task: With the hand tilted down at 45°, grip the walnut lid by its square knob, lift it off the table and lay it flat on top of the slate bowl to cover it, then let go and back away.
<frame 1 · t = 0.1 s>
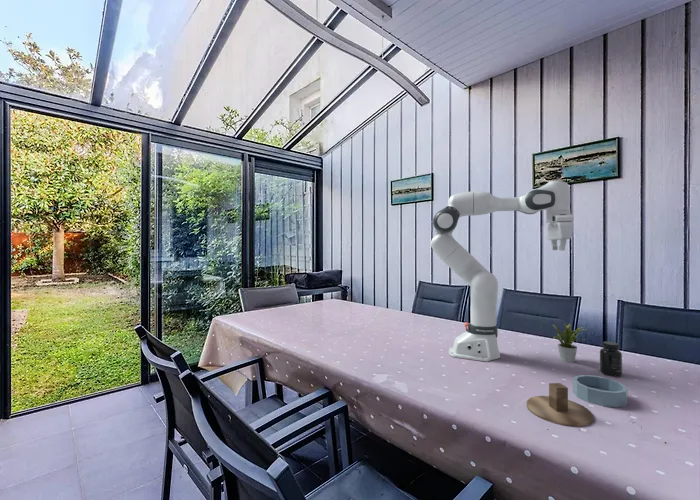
hand: (558, 250, 144), 48 cm above the table, tool pointing down, fingers open, 8 cm apart
walnut lid: (558, 412, 101), on the table
supplement bottle: (610, 374, 129), on the table
house plant: (570, 361, 144), on the table
slate bowl: (599, 396, 110), on the table
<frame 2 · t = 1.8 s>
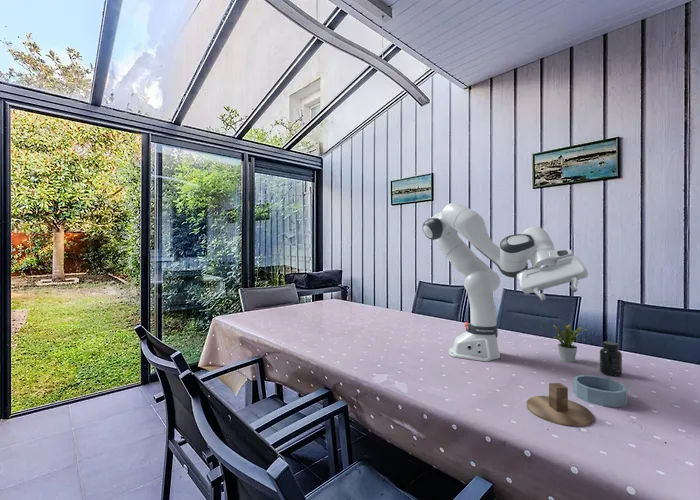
hand: (558, 295, 108), 34 cm above the table, tool tilted 45°, fingers open, 8 cm apart
nothing on the table moved.
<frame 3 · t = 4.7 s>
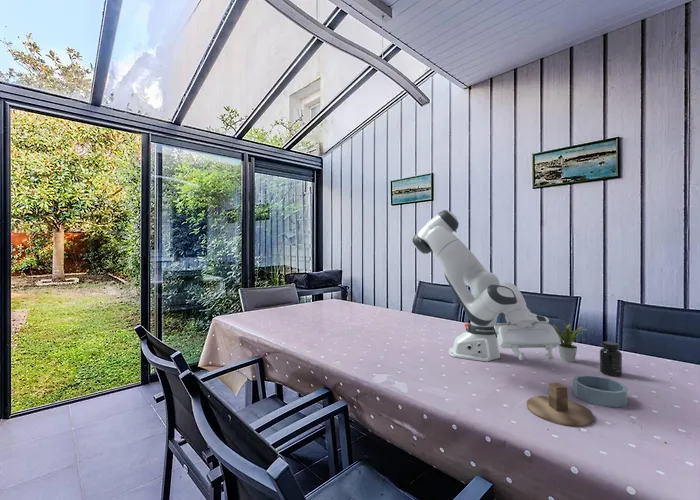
hand: (536, 358, 111), 13 cm above the table, tool tilted 45°, fingers open, 8 cm apart
nothing on the table moved.
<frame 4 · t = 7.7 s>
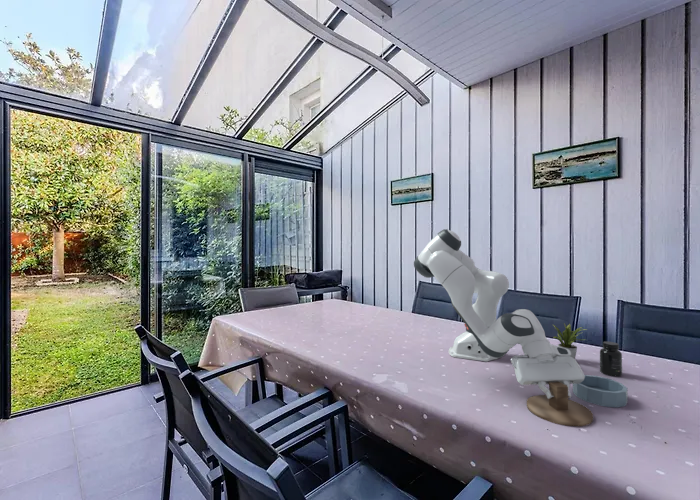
hand: (559, 397, 100), 4 cm above the table, tool tilted 45°, fingers closed on walnut lid, 4 cm apart
walnut lid: (558, 411, 101), on the table, touching gripper
everything else where it was.
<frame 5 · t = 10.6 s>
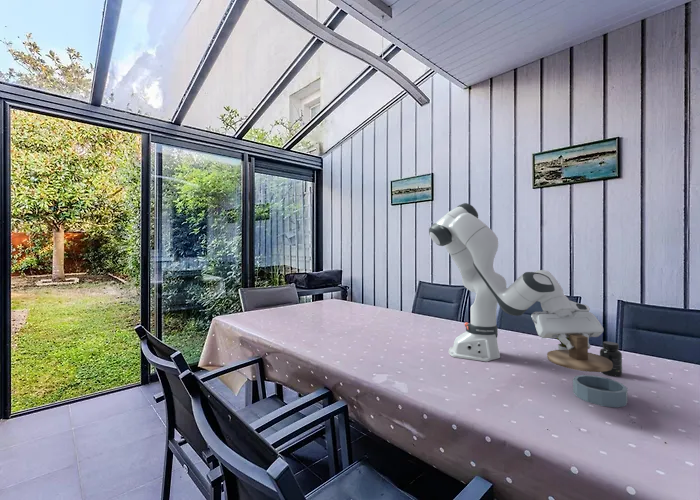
hand: (579, 348, 105), 18 cm above the table, tool tilted 45°, fingers closed on walnut lid, 3 cm apart
walnut lid: (578, 361, 105), point 13 cm above the table, touching gripper
everything else where it was.
when the fingers open (10 cm above the table, at t = 13.7 s): walnut lid drops 1 cm, resting on slate bowl.
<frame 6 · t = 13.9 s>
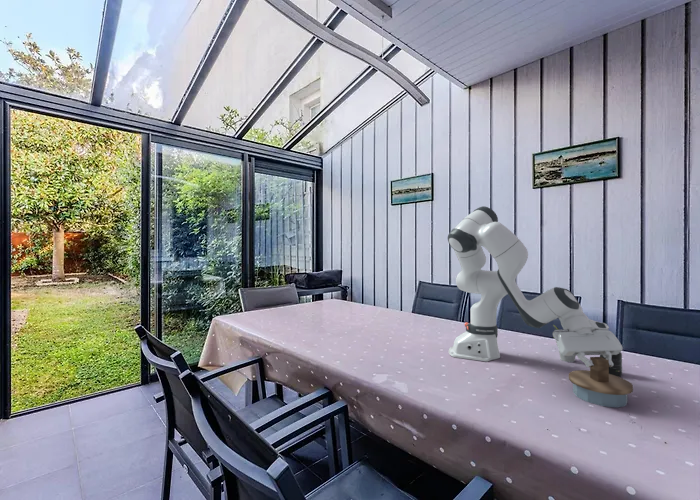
hand: (600, 366, 109), 10 cm above the table, tool tilted 45°, fingers open, 5 cm apart
walnut lid: (599, 383, 110), point 4 cm above the table, touching slate bowl
everything else where it was.
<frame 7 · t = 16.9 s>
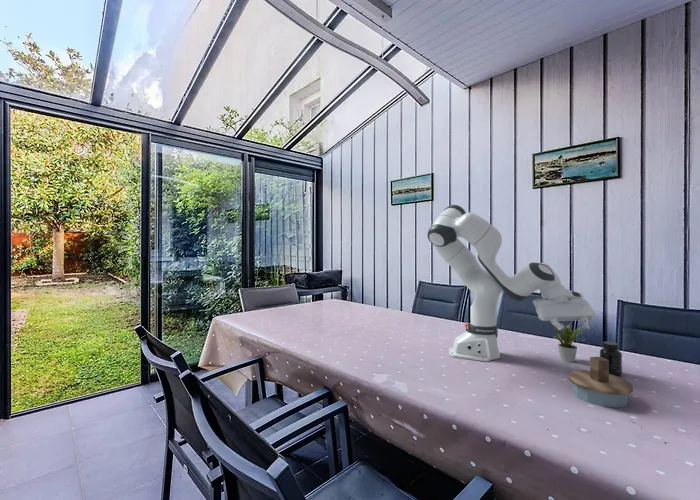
hand: (574, 329, 121), 19 cm above the table, tool tilted 45°, fingers open, 8 cm apart
nothing on the table moved.
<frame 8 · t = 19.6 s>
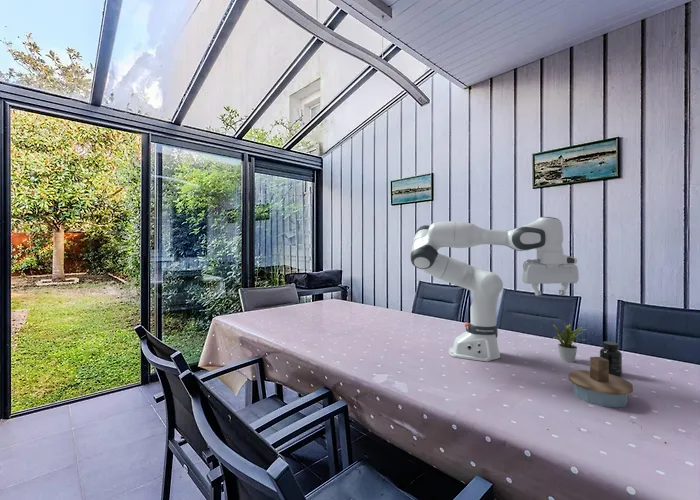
hand: (550, 295, 128), 31 cm above the table, tool pointing down, fingers open, 8 cm apart
nothing on the table moved.
at the end: walnut lid 0.0 cm off-centre on the slate bowl, point 4.5 cm above the slate bowl's base; walnut lid tilted 0°; the gripper is holding nothing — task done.
